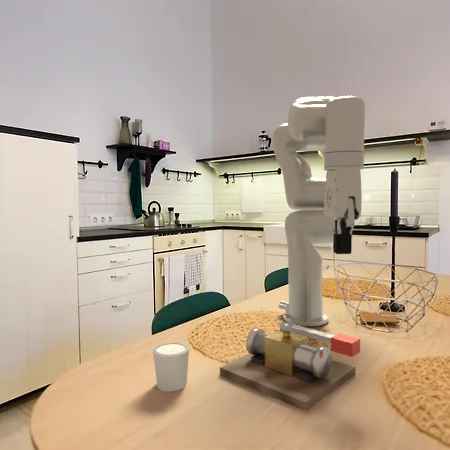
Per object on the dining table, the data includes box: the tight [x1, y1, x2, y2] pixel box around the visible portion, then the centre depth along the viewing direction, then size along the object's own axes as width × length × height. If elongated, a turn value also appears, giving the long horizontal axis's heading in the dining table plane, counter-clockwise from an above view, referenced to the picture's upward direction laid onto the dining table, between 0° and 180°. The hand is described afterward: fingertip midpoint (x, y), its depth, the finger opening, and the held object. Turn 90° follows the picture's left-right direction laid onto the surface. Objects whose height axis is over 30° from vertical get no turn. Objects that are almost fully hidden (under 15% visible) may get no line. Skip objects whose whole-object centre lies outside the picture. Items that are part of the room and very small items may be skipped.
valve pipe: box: [245, 327, 333, 383], centre depth 76 cm, size 17×6×7 cm, turn 46°
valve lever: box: [279, 321, 361, 358], centre depth 71 cm, size 3×16×2 cm, turn 45°
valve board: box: [219, 353, 356, 412], centre depth 77 cm, size 20×18×2 cm
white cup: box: [152, 342, 190, 393], centre depth 73 cm, size 7×7×7 cm
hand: (342, 253), depth 78 cm, fingers closed
